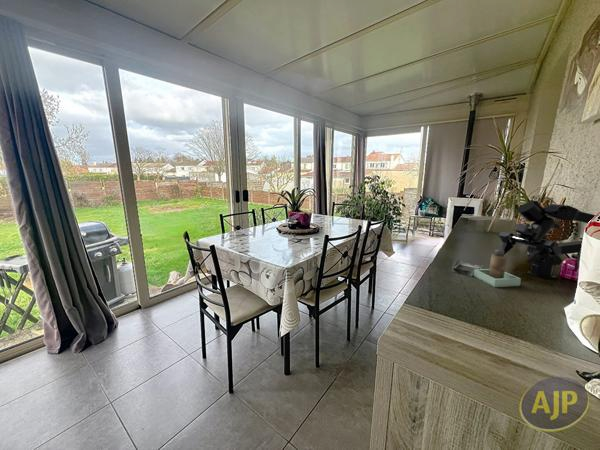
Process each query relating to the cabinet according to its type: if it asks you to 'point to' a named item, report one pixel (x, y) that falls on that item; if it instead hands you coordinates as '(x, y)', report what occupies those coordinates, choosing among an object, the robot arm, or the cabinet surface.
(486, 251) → the cabinet surface
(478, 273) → the tray
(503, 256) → the pepper mill
